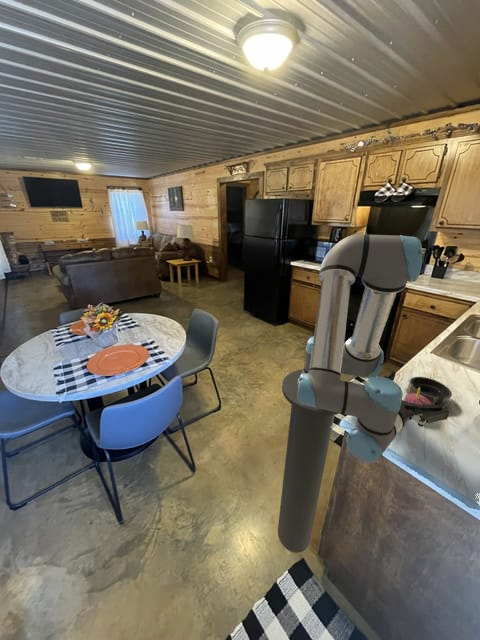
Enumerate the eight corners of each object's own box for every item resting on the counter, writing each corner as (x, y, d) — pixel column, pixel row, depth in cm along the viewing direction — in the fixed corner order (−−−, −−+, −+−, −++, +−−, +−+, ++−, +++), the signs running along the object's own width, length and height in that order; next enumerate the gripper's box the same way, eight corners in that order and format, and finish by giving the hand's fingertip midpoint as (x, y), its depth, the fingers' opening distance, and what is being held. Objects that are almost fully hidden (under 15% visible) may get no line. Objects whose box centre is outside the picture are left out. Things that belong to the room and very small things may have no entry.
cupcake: (417, 424, 89) (427, 396, 85) (395, 408, 97) (403, 381, 92) (433, 417, 92) (444, 389, 88) (411, 402, 100) (420, 376, 95)
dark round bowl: (401, 396, 103) (404, 385, 101) (413, 382, 111) (416, 372, 109) (441, 415, 94) (445, 404, 92) (451, 399, 101) (456, 388, 100)
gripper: (342, 403, 79) (374, 377, 92) (438, 460, 62) (462, 417, 75) (346, 383, 76) (378, 358, 89) (449, 437, 59) (471, 396, 72)
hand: (416, 385), depth 82 cm, fingers open, 13 cm apart
